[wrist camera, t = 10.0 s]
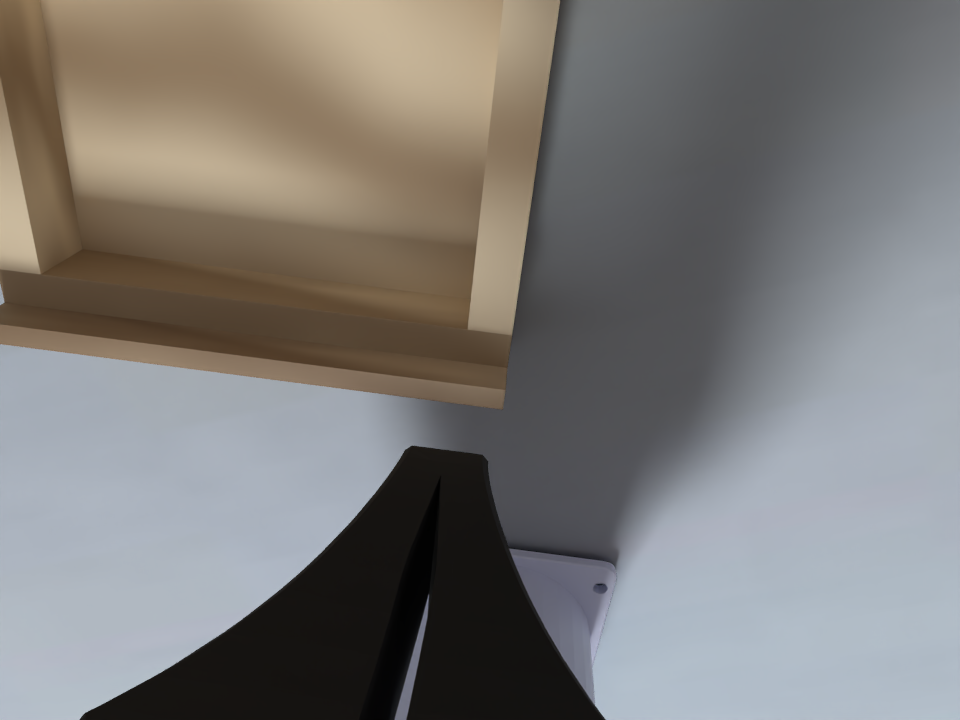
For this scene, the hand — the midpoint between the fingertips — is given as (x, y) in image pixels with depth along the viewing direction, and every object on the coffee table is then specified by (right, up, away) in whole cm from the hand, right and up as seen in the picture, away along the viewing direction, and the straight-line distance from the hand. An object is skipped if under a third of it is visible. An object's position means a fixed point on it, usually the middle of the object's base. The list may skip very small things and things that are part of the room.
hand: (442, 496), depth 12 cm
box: (-5, +9, +7) cm, 12 cm away
